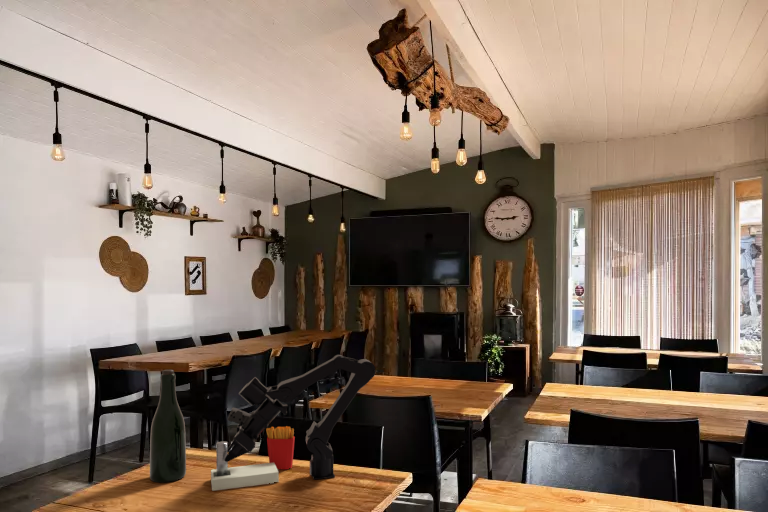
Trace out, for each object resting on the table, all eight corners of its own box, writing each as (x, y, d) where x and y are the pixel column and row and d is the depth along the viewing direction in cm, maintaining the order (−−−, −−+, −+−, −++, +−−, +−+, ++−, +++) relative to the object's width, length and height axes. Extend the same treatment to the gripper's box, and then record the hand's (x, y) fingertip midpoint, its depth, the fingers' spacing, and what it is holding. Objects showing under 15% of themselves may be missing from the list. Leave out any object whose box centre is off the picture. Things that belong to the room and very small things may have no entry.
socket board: (274, 472, 179) (274, 462, 180) (278, 482, 170) (278, 472, 170) (211, 479, 173) (211, 469, 174) (212, 490, 164) (212, 480, 164)
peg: (228, 481, 171) (228, 441, 172) (226, 485, 168) (226, 444, 169) (218, 482, 171) (218, 441, 172) (215, 485, 168) (215, 444, 169)
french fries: (295, 465, 186) (295, 424, 186) (292, 469, 182) (292, 428, 182) (268, 465, 187) (267, 424, 187) (264, 469, 182) (264, 428, 183)
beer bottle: (190, 471, 182) (190, 367, 183) (179, 483, 171) (179, 372, 173) (157, 472, 181) (157, 367, 183) (144, 484, 171) (144, 372, 172)
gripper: (245, 392, 181) (210, 430, 179) (241, 404, 163) (202, 447, 160) (271, 415, 182) (236, 454, 180) (270, 430, 164) (231, 473, 161)
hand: (226, 456), depth 170 cm, fingers open, 9 cm apart
